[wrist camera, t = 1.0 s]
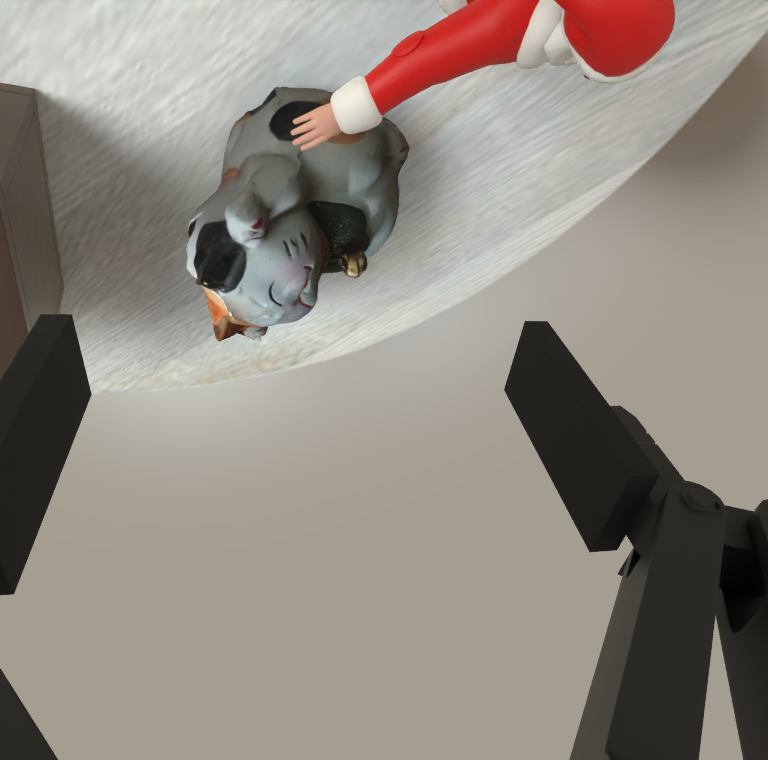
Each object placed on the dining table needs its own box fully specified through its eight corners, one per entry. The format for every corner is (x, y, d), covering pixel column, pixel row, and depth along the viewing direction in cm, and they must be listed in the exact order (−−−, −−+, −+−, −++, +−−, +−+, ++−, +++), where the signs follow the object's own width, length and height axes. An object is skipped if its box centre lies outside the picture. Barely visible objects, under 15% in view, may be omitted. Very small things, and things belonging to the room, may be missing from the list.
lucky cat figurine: (378, 259, 47) (329, 406, 41) (238, 206, 46) (165, 349, 39) (437, 111, 34) (379, 293, 27) (243, 31, 33) (134, 202, 26)
